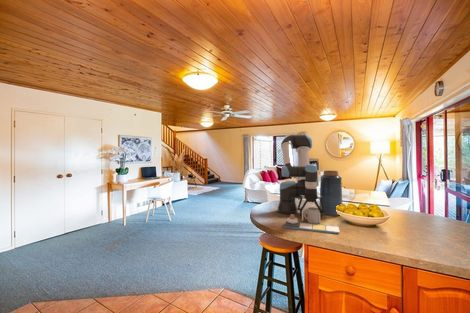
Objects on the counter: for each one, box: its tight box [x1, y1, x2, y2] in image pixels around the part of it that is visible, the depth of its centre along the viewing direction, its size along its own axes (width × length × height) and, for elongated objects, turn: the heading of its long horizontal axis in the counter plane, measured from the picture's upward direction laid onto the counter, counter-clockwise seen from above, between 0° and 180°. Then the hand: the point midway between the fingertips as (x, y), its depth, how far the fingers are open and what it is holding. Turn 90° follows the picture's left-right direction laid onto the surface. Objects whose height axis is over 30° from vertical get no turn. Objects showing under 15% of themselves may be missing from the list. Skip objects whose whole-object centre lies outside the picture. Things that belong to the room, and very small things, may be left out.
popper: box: [286, 214, 299, 224], centre depth 138 cm, size 6×6×4 cm
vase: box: [318, 170, 343, 217], centre depth 165 cm, size 16×16×32 cm
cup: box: [303, 206, 320, 224], centre depth 145 cm, size 7×10×9 cm
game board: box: [283, 220, 340, 235], centre depth 134 cm, size 11×31×2 cm, turn 69°
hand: (311, 221), depth 145 cm, fingers closed on cup, 10 cm apart
